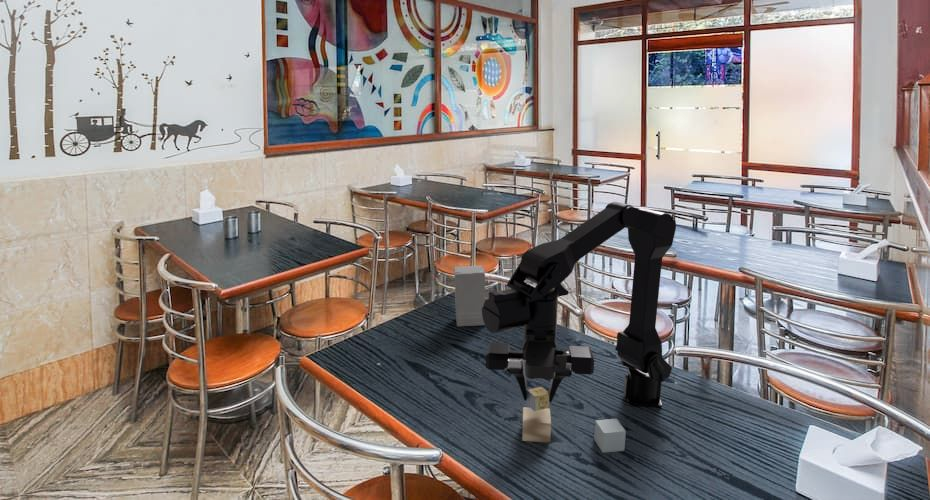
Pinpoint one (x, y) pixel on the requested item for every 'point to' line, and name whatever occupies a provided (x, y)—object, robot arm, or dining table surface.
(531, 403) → the alphabet block
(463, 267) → the skincare box
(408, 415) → the dining table surface
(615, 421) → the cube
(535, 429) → the beech block
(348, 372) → the dining table surface
